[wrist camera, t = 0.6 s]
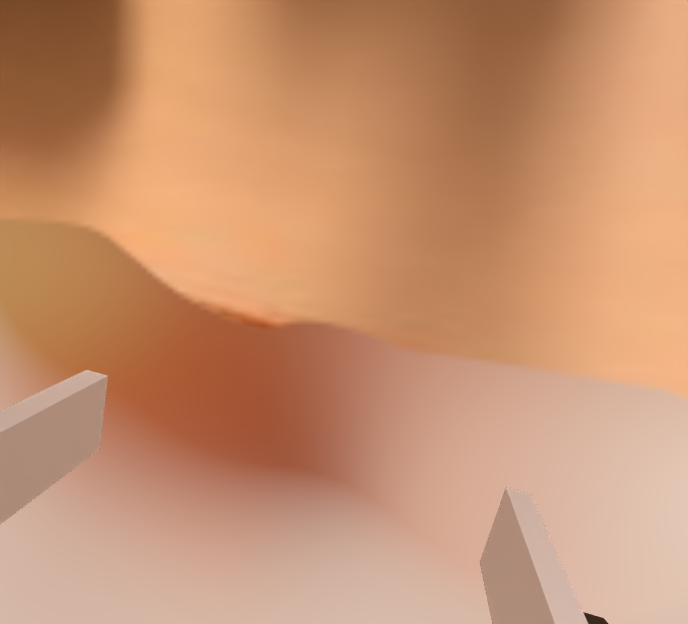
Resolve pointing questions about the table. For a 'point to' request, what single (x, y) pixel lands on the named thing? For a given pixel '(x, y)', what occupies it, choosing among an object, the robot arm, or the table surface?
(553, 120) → the table surface
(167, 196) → the table surface
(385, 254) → the table surface
